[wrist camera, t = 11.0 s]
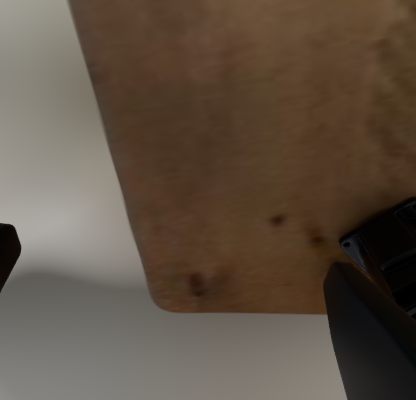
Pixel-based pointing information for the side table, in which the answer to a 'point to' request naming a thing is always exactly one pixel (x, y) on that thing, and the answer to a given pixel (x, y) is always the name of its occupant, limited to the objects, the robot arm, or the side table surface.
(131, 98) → the side table surface
